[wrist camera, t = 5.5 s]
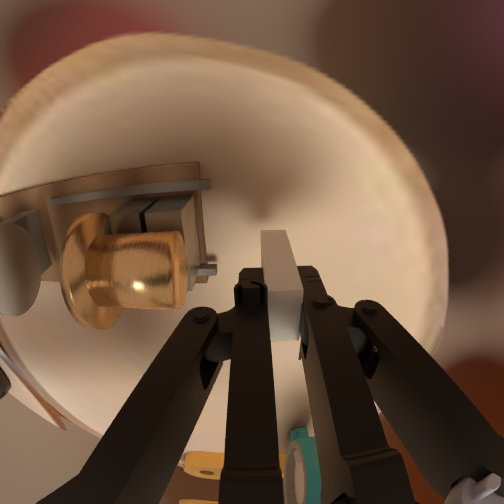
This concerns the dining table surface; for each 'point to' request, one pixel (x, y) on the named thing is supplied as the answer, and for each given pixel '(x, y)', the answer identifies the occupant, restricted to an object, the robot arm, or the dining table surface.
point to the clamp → (210, 468)
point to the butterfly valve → (302, 469)
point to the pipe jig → (67, 211)
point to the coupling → (130, 259)
